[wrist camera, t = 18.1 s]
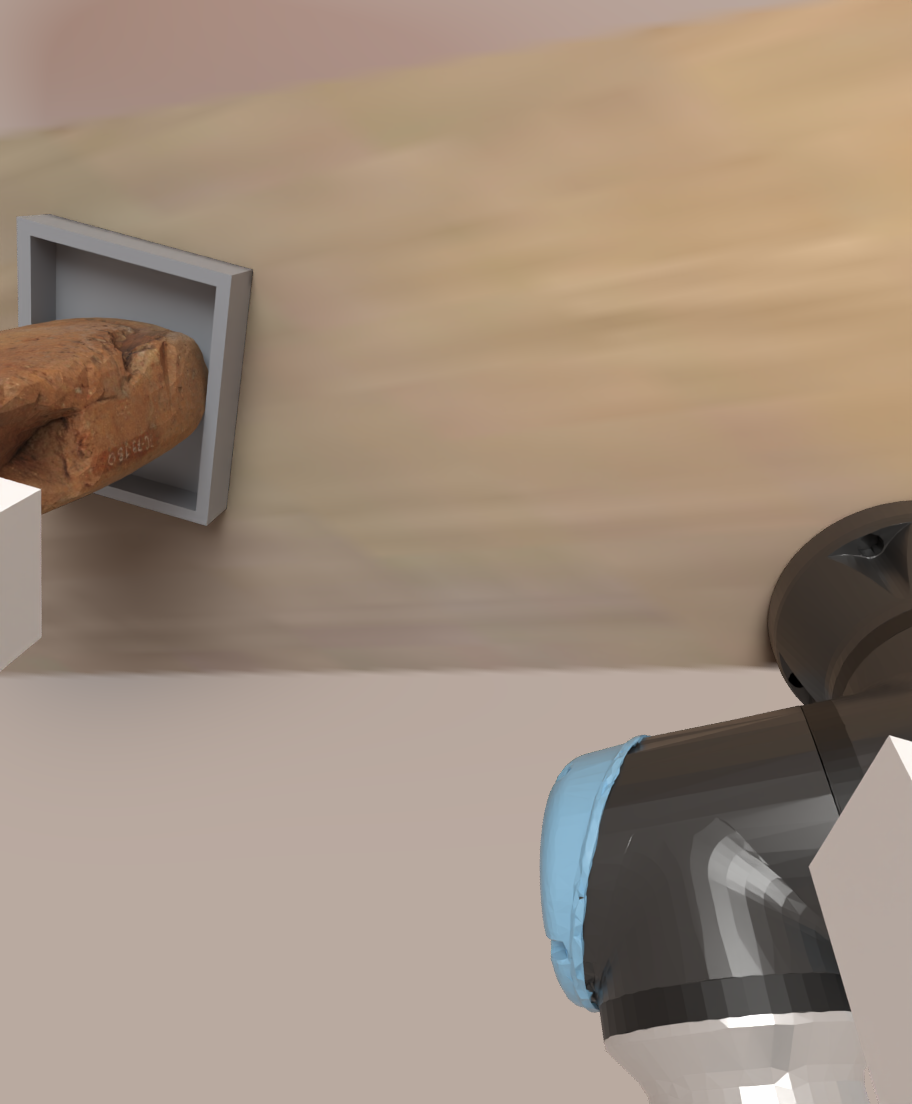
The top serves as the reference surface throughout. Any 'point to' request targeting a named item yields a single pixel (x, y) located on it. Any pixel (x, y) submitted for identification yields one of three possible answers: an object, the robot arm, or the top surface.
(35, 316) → the tray
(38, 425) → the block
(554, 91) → the top surface
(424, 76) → the top surface
